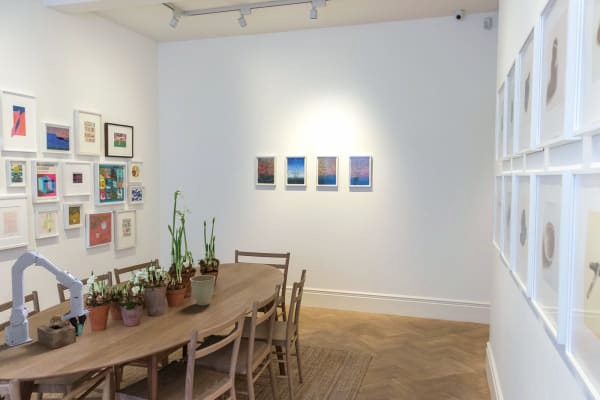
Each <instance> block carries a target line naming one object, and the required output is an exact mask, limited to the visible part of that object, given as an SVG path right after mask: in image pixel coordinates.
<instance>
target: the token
mask: <svg viewBox="0 0 600 400" xmlns="http://www.w3.org/2000/svg"><path fill="white" fill-rule="evenodd" d="M83 330H84V329H83ZM83 330H82V324H80V323H79V322H77V332H75V333H76V335H77V336H82V335H84V334H83V332H84V331H83Z"/></svg>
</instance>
